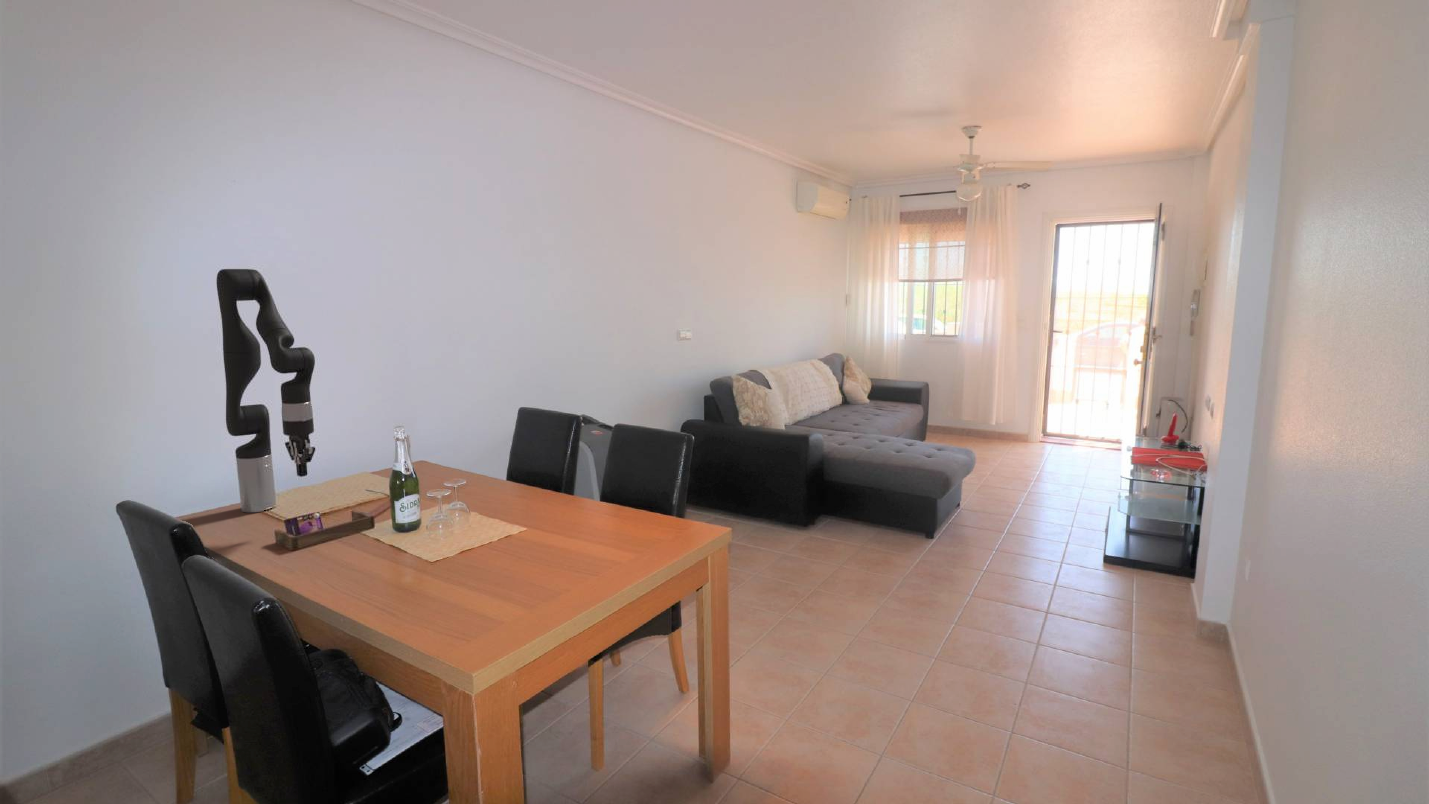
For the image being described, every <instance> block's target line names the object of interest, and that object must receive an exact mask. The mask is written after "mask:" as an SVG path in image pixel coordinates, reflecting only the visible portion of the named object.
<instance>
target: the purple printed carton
mask: <svg viewBox="0 0 1429 804" xmlns="http://www.w3.org/2000/svg"><path fill="white" fill-rule="evenodd" d="M300 518H301V520H303V521H305V522H303V523H300V525H299V520H298V519H300ZM313 518H314V519H315V522H316V524H317V525H316V524H313V523H314V521H313V520H312V519H313ZM307 520H312V521H307ZM322 522H323V521H322V518H321V514H320V512H319V511H316V512H312V513H309V514H308V513H307V514H304V515H299V516H295V517H290V518H287V519H283V523H284V527H285V532H286V533H289V534H291V535H293V536H299V535H302V534H306V533H310V532H313V531H314V529H315V528H314V527H317V530H321V529H324V526H323V523H322Z"/></svg>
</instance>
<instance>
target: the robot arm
mask: <svg viewBox="0 0 1429 804" xmlns="http://www.w3.org/2000/svg"><path fill="white" fill-rule="evenodd" d="M267 284H268V283H267V282H266V280H265V278H264V276H263V275H262V274H261V272H260V271H258V270H257V269H253V268H251V269H250V268H225V269H224V268H223V269H220V270H219V271H218V272H217V274H216V291H217V297H218V304H219V310H220V311H219V312H220V318H221V319H220V320H221V327H222V355H223V356H222V357H223V365H224V367H223V368H224V376H225V377H224V378H225V391H226V392H225V394H226V395H225V423H226V424H225V425H226V430H227V432H228V434H229V435H230V436H232V437H242V436H243V437H244V436H251V435H255V436H254V438H252V439H251V440H250V441H248V442H246V443H244V444H242V445H239V446H238V447H236V449H235V461H236V470H237V471H236V472H237V480H238V489H239V501H240V509H241V512H243V513H259V512H265V511H264V510H265V509H266V508H268V507H274V506H275V505H276V506H277V499H276V489H275V479H274V478H275V477H274V466H273V457H272V456H273V455H272V443H271V422H270V418H271V417H270V412H269V409H268V407H267V406H266V405H265V404H247V405H241V403H242V399H243V396H244V393H245V391H246V389H247V388H248V386H249V385H250V383H251V382H252V380H253V379H254V377H256V375H257V374H258V372H259V370H260V368H261V365H262V355H261V351H262V350H261V343H260V341H259V340H258V338H257V337H256V336H255V334H254V333H253V332H252V330H251V329H250V328H249V327H248V326H247V325H246V323H245V322H244V320H243V319H242V317H241V316H240V313H239V310H238V303H237V302H245V301H247V302H248V301H255V302H256V303H257V304H258V305H259V307H258V312H257V315H256V319H255V327H256V331H257V333H258V335H259V337H260V338H261V339H262V341H263V342H264V344H265V345H266V348H267V350H268V351H267V352H268V355H269V360H270V365H271V368H272V369H273V370H274V371H275V372H277V373H279V374H294V373H296V374H295V376H294V377H293V378H292V379H290V380H287V381H284V382H282V383H281V385H280V396H281V397H280V398H281V421H282V433H283V435H284V436H288V441H285V442H284V445H285V448H286V450H287V453H288V455H289V457H290V459H291V461H294V464H295V467H296V476H297V477H300V478H302V477H306V476H307V475H308V465H307V464H309V463H311V462H312V459H313V457H314V454H315V452H316V447H315V446H311V440H310V435H311V434H313V433H314V432H315V428H314V426H315V425H314V424H315V423H314V414H313V413H314V412H313V411H314V410H313V405H312V400H311V389H310V388H311V383H312V377H313V373H314V369H315V364H316V359H315V355H314V353H313V352H312V350H311V349H310V348H308V347H303V346H301V347H297V346H296V347H293V345H294V344H295V338H294V335H293V334H292V332H291V330H290V329H289V328H288V326H287V324H286V322H284V319H283V318H282V317H281V315H280V312H279V311H278V308H277V306H276V303H275V300H274V298H273V296H272V293H271V290H270V289H269V287H268V285H267ZM274 508H275V507H274Z"/></svg>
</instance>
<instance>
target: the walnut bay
mask: <svg viewBox="0 0 1429 804" xmlns="http://www.w3.org/2000/svg"><path fill="white" fill-rule="evenodd" d="M350 512H351V521H348V522H344V523H339V524H337V525H332V526H329V527H326V528H324V527H323V529H321V530H318V529H317V530H312V531H311V532H310V533H306V534H302V535H299V536H293V535H291V534H289V533H287V532H286V531H284V530H281V529H275V530H274V539H275V543H276V544H278V545H280V546H283V547H285V548H287V549H289V550H292V551H298V550H302V549H305V548H309V547H312V546H316V545H319V544H323V543H326V542H330V541H333V540H337V539H340V538H343V537H347V536H350V535H354V534H358V533H360V532H365V531H368V530H371V529H374V527H375V526H376V525H375V516H374V515H373V514H372V515H371V514H368V513H366V512H362V511H359V510H357V509H352V510H351V511H350ZM364 530H365V531H364Z"/></svg>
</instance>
